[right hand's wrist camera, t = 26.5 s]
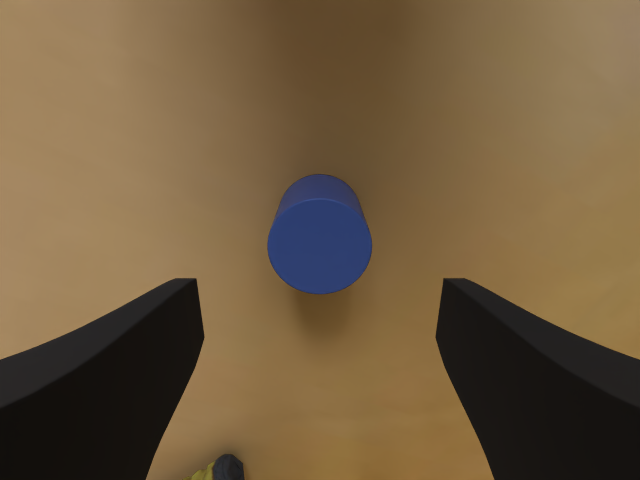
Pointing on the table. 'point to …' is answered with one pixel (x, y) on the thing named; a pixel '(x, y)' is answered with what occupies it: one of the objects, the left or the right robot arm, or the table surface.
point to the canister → (319, 236)
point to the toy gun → (221, 470)
